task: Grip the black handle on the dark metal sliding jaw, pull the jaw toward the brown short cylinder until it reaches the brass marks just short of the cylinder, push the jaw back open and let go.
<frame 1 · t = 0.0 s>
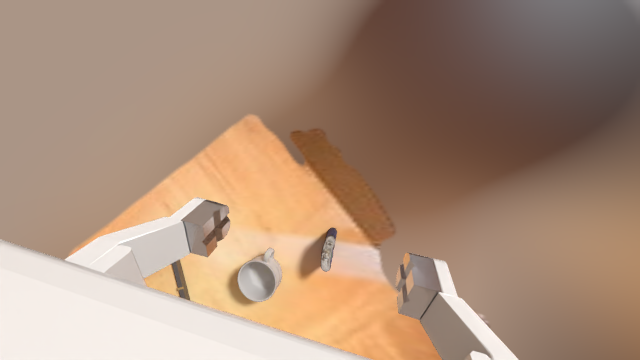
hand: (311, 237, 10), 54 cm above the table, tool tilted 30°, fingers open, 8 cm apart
flask: (330, 243, 65), on the table
press frame: (158, 295, 72), on the table
teacup: (270, 264, 67), on the table
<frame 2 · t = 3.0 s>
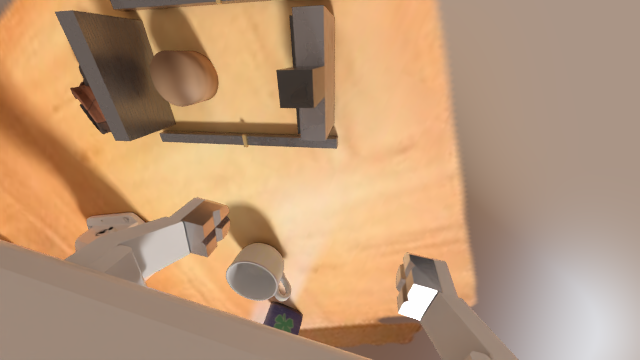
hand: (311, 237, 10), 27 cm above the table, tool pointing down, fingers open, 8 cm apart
flask: (287, 308, 61), on the table
brown short cylinder: (197, 76, 36), resting in press frame
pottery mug: (129, 94, 39), on the table
press frame: (232, 76, 34), on the table
sliding jaw: (310, 80, 25), point 8 cm above the table, slide at 0.0 cm
teacup: (271, 256, 53), on the table
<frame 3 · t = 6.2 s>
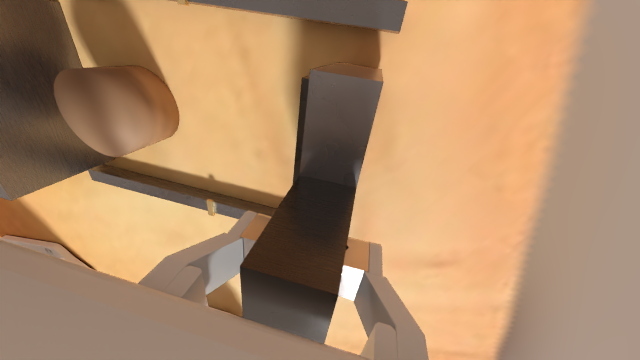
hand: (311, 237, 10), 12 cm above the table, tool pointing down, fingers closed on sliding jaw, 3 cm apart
brown short cylinder: (147, 104, 23), resting in press frame
press frame: (201, 116, 22), on the table
sliding jaw: (322, 191, 14), point 8 cm above the table, slide at 0.0 cm, touching gripper
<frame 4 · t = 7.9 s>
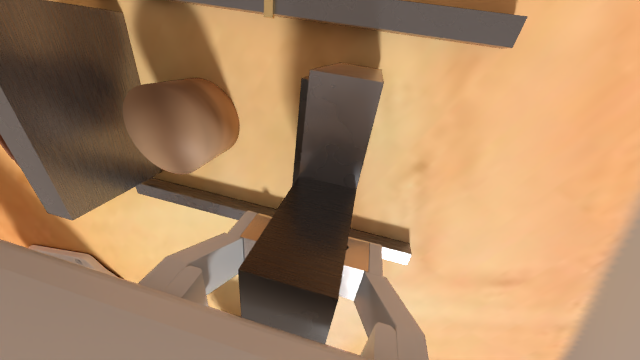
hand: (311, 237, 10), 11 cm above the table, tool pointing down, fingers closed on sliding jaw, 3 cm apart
brown short cylinder: (206, 117, 22), resting in press frame
press frame: (264, 130, 21), on the table
sliding jaw: (322, 192, 13), point 8 cm above the table, slide at 6.5 cm, touching gripper
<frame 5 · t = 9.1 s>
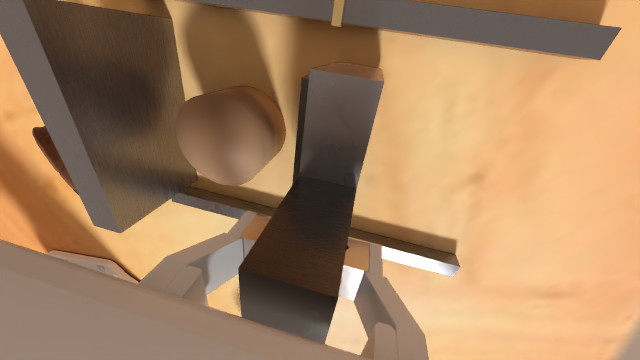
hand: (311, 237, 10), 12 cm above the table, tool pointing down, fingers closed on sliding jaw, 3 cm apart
brown short cylinder: (250, 126, 21), resting in press frame
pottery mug: (134, 133, 25), on the table
press frame: (312, 139, 20), on the table
sliding jaw: (322, 191, 14), point 8 cm above the table, slide at 11.0 cm, touching gripper
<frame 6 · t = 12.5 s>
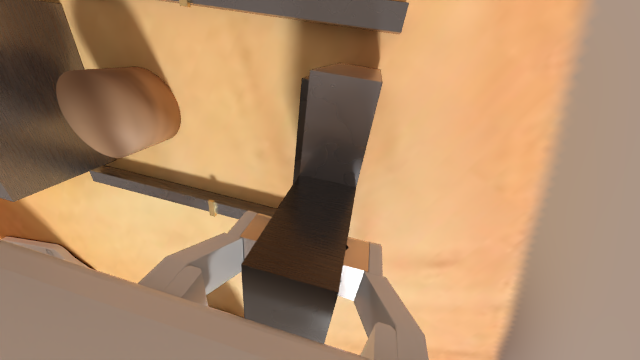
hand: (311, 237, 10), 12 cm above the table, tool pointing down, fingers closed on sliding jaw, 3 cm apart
brown short cylinder: (149, 105, 23), resting in press frame
press frame: (203, 117, 22), on the table
sliding jaw: (322, 191, 14), point 8 cm above the table, slide at 0.2 cm, touching gripper
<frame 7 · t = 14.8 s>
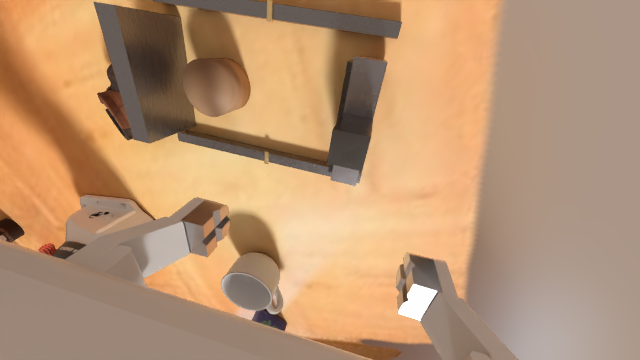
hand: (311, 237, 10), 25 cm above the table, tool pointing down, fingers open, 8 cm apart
flask: (273, 314, 62), on the table
coffee mug: (14, 223, 70), on the table
brown short cylinder: (228, 84, 34), resting in press frame
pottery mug: (155, 99, 38), on the table
press frame: (266, 92, 33), on the table
sliding jaw: (353, 125, 25), point 8 cm above the table, slide at 0.2 cm
teacup: (267, 266, 52), on the table
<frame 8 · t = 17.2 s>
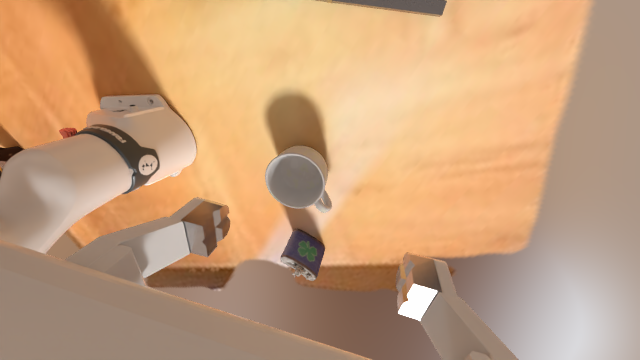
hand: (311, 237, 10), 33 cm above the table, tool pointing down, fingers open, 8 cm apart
flask: (309, 239, 57), on the table
coffee mug: (23, 152, 65), on the table
teacup: (310, 170, 47), on the table
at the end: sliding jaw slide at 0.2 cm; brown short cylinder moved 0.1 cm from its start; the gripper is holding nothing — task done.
